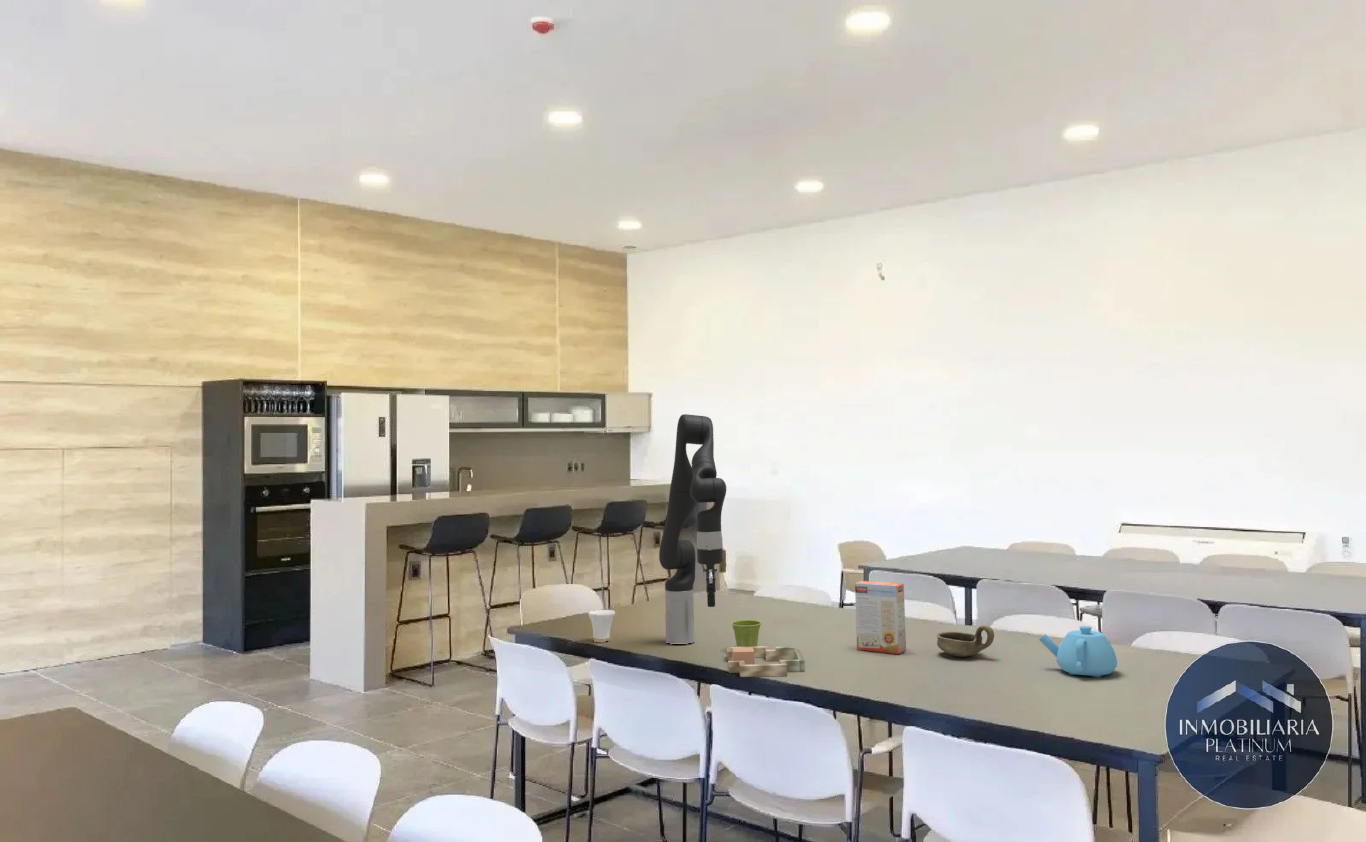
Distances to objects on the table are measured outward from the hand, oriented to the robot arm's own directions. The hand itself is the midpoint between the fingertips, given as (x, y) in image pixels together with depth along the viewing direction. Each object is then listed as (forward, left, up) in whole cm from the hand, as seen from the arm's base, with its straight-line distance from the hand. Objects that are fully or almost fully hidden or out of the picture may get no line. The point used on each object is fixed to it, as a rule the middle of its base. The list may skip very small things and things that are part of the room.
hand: (711, 606), depth 284 cm
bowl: (+75, +7, -18) cm, 77 cm away
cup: (-36, +39, -18) cm, 56 cm away
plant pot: (+11, +21, -18) cm, 30 cm away
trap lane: (+14, 0, -18) cm, 23 cm away
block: (+9, 0, -18) cm, 20 cm away
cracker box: (+52, +17, -18) cm, 57 cm away
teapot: (+100, -14, -18) cm, 102 cm away
